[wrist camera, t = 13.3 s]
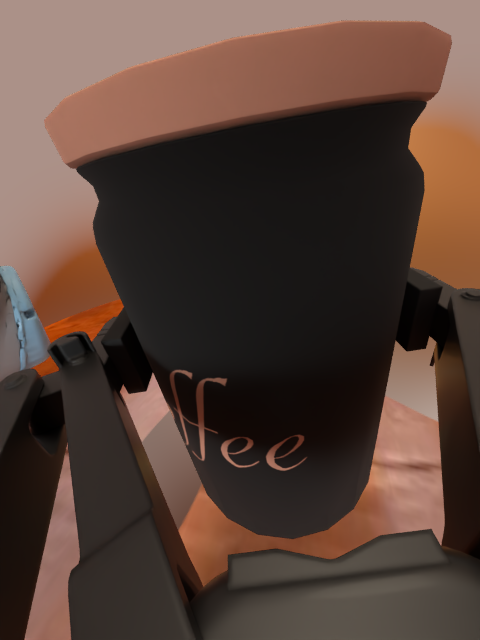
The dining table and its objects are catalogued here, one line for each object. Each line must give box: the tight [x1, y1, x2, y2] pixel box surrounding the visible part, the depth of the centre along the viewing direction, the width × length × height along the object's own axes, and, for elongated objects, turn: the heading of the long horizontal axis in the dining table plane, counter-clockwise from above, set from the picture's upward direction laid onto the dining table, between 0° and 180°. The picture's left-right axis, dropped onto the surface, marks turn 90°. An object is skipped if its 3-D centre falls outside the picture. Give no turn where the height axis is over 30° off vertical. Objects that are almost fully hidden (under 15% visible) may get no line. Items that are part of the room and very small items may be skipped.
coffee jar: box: [44, 21, 452, 539], centre depth 13 cm, size 11×11×18 cm
